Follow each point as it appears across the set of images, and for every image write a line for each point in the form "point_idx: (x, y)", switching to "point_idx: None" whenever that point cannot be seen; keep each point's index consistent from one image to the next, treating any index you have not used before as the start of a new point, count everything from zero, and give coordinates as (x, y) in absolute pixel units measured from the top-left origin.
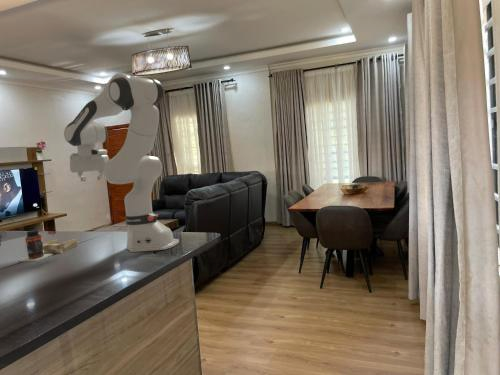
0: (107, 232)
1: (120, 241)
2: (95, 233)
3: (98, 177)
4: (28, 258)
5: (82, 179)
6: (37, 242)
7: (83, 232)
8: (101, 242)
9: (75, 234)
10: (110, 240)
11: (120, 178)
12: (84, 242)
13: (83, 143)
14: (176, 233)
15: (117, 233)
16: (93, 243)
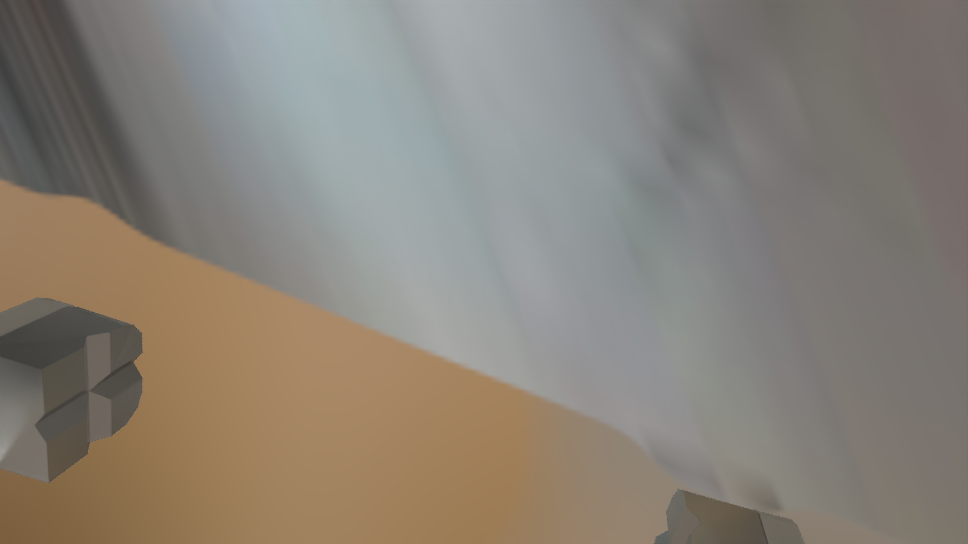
0: (593, 398)
1: (331, 9)
2: (697, 406)
3: (31, 343)
4: None
5: (724, 531)
6: None
7: (839, 495)
8: (495, 26)
9: (897, 449)
10: (440, 78)
11: None
12: (671, 81)
13: None
14: (4, 137)
15: (483, 323)
16: (559, 10)
